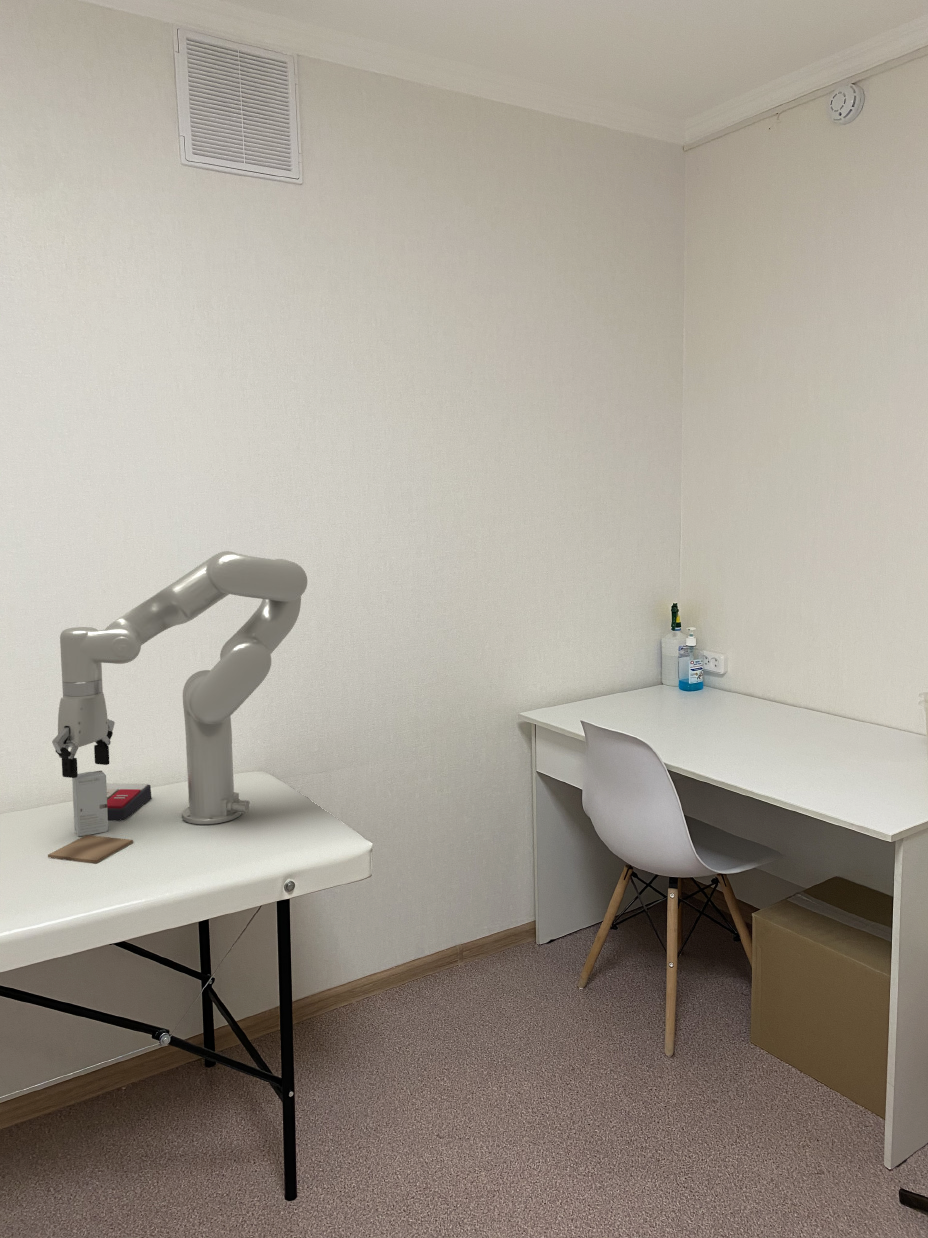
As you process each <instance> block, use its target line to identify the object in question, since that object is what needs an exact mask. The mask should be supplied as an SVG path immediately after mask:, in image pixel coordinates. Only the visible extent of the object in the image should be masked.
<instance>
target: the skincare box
mask: <svg viewBox="0 0 928 1238" xmlns="http://www.w3.org/2000/svg"><path fill="white" fill-rule="evenodd" d="M71 781H72V803H73V804H72V805H73V823H74V832H75V834H76V835H77V837H83V836H85V835H95V834H101V833H106V832H109V821H108V811H107V786H106V783H107V775H106V774H105V772H103V770H95V771H94V770H93V771H86V772H80V773H78V776H77V777H76V778H71Z"/></svg>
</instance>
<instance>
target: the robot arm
mask: <svg viewBox="0 0 928 1238" xmlns="http://www.w3.org/2000/svg"><path fill="white" fill-rule="evenodd" d="M307 586H308V576H307V573H306V571H305V569H304V568H303V567H302V566H301V565H299V564H298V563H297V562H294V561H291V560H288V559H284V558H275V559H271V558H265V557H257V556H252V555H248V554H247V555H245V554H242V553H237V552H233V551H229V550H225V551H221V552H218V553H216V554H214V555H213V556H211V557H209V558H208V559H207V560H205V561H204V562H202V563H201V564H199V565H197V566H196V567H194V568H193V569H191V570H190V571H189V572H187V573H185V574H184V575H183V576H181V577H179V578H178V579H177V580H175V581H173V582H172V583H170V584H169V585H167V586H166V587H165V588H163V589H161V590H160V591H158V592H157V593H156V594H154V595H153V596H151V597H149V598H148V599H146V600H144V601H143V602H141V603H140V604H138V605H137V606H135V607H134V608H132V609H131V610H129V611H128V612H126V613H125V614H123V615H121V616H120V617H119V618H117V619H116V620H114V621H113V622H111V623H110V624H109V625H107V626H106V628H105V629H99V630H98V629H97V628H96V627H90V626H76V627H69V628H65V629H64V630H62V631H61V633H60V635H59V645H60V647H59V649H60V665H61V684H62V685H61V686H62V697H61V698H60V700H59V706H58V714H57V735H56V736H55V737H54V738H53V740H52V743H51V744H52V745H53V747H54V749H55V753H56V754H57V755H58V757H59V758H60V759H61V774H62V777H63V778H71V779H72V778H76V777H77V776H78V774H79V773H78V758H77V757H75V756H76V754H77V752H78V750H79V748H82V747H84V746H85V747H86V746H87V745H90V744H93V743H95V745H94V746H93V752H94V753H93V754H94V763H95V765H102V766H103V765H104V766H108V765H110V745H111V743H112V742H111V739H112V737H113V736H114V734H113V733H114V732H113V731H114V727H115V724H116V723H115V721H114V720H112V719H109V718H108V711H107V703H106V699H105V695H104V692H103V690H104V689H103V688H104V687H103V667H102V664H113V665H115V664H116V665H121V664H127V663H131V662H132V661H134V660H135V659H137V658H138V656H139V654H140V653H141V649H142V646H144V645H145V644H146V643H147V642H149V641H150V640H151V639H153V638H154V637H157V636H158V635H159V634H161V633H163V632H165V631H167V630H168V629H170V628H173V627H175V626H179V625H183V624H186V623H189V622H191V621H192V620H194V619H195V618H197V617H199V615H201V614H203V613H205V612H206V611H207V610H208V609H210V608H211V607H213V606H214V605H216V604H217V603H219V602H220V601H221V600H223V599H225V598H226V597H227V596H229V595H232V596H233V595H234V596H239V597H245V598H251V599H252V598H253V599H260V600H261V603H260V605H259V606H258V608H257V609H256V610H255V611H254V613H253V614H252V615H251V616H250V617H249V618H248V619H247V621H245V623H244V624H243V625H242V626H241V627H240V628H239V629H238V630H237V631H236V632H234V634H233V635H232V636H231V637H230V638H229V639H227V641H225V643H224V644H223V646H222V648H221V649H220V654H219V661H218V662H217V663H216V664H215V665H214V666H213V667H212V668H211V670H208V669H204V670H199V671H195V672H194V673H193V674H191V675H190V676H189V677H188V678H187V680H186V681H185V683H184V686H183V689H182V706H183V707H182V709H183V716H184V726H185V727H184V729H185V743H186V744H185V748H186V749H185V750H186V752H185V753H186V769H187V789H188V806H187V807H186V808H184V809H183V810H182V812H181V818H182V820H183V821H184V822H186V823H189V824H194V825H215V824H222V823H226V822H229V821H233V820H235V819H236V818H238V817H240V816H241V815H242V814H243V813H248V812H249V810H250V802H251V801H250V800H247V799H246V800H245V799H240V797H239V796H240V794H239V792H235V784H234V781H235V780H234V763H233V762H234V761H233V731H232V730H233V729H232V719H231V716H232V715H233V714H234V713H235V712H237V710H238V709H239V708H240V706H242V705H243V704H244V703H245V702H246V700H247V699H249V697H251V695H252V694H253V693H254V692H255V690H257V688H258V687H259V686H260V685H261V684H262V683H263V681H264V680H265V679H266V677H267V676H268V674H269V672H270V670H271V667H272V653H273V652H274V651H275V650H276V649H278V647H279V646H280V644H282V642H283V640H284V639H285V638H286V637H287V636H288V635H289V633H290V632H291V631H292V629H293V627H294V626H295V625H296V623H297V621H298V618H299V615H300V611H301V604H302V596H303V595H304V593H305V591H306V590H307ZM69 749H70V750H69Z"/></svg>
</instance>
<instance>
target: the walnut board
mask: <svg viewBox="0 0 928 1238" xmlns="http://www.w3.org/2000/svg"><path fill="white" fill-rule="evenodd" d="M133 843H134V840H133V839H128V838H117V837H110V836H101V835H94V834H90V835H84V836H80V838H78V839H75V840H74V841H72V842H70V843H68V844H66V845H64V846H62V847H60V848H58V849H56V850H55V851H52V852H50V853H49V854H47V858H48V857H51V858H50V859H55V858H57V859H56V860H63V859H66V860H65V861H71V860H73V862H80V863H89V864H98V863H100V862H102V861H103V860H106V859H107V858H109V857H110V856H112V855H114V854H116V853H118V852H119V851H121V850H123V849H125V848H127V847H128V846H131V845H132V844H133Z"/></svg>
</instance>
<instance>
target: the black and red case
mask: <svg viewBox="0 0 928 1238" xmlns="http://www.w3.org/2000/svg"><path fill="white" fill-rule="evenodd" d="M106 786H107V811H108V822H110V821H111V822H113V821H114V822H116V821H118V822H122V821H123V822H124V821H126V820H128V819H129V818H130V817H131V816H132V815H134V814H135V813H136V812H137V811H138V810H139V809H140V808H141V807H143V805H146V804H147V803H148V802H150V800H152V789H151V784H148V783H115V782H114V783H110V782H109V783H107V782H106Z"/></svg>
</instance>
